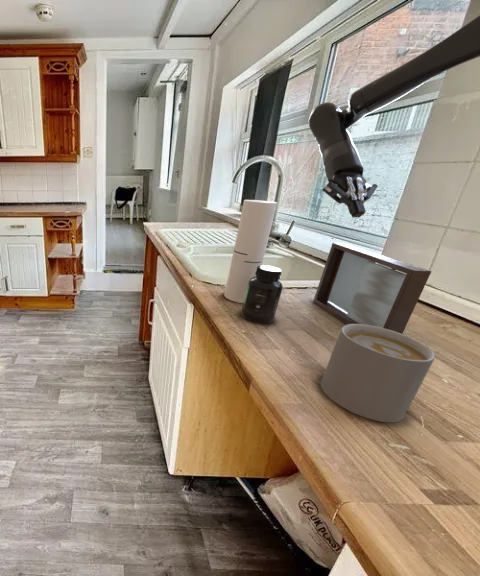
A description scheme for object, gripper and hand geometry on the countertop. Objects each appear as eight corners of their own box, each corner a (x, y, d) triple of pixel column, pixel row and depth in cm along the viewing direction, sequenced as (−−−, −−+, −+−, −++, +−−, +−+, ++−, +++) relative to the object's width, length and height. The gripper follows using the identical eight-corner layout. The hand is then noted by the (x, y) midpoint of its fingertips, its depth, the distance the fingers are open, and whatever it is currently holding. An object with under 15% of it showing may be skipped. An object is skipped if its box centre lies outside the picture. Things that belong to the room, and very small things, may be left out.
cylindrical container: (230, 290, 87) (250, 199, 77) (257, 298, 82) (281, 202, 73) (219, 296, 82) (239, 200, 73) (247, 305, 77) (271, 203, 68)
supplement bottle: (235, 315, 71) (246, 266, 67) (248, 308, 76) (260, 261, 71) (265, 327, 67) (280, 275, 62) (278, 318, 71) (292, 269, 66)
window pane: (325, 299, 80) (342, 249, 75) (361, 300, 79) (380, 251, 75) (352, 315, 71) (373, 260, 66) (392, 317, 70) (416, 263, 66)
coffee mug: (412, 434, 40) (447, 371, 36) (321, 402, 45) (344, 344, 41) (390, 380, 51) (416, 327, 47) (319, 359, 56) (337, 310, 52)
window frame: (312, 301, 81) (332, 242, 76) (325, 302, 81) (345, 243, 75) (379, 346, 61) (413, 270, 55) (396, 347, 61) (431, 271, 55)
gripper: (326, 150, 80) (342, 204, 73) (377, 153, 79) (399, 207, 72) (307, 172, 87) (321, 223, 80) (355, 174, 86) (373, 225, 79)
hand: (358, 215), depth 76 cm, fingers closed
